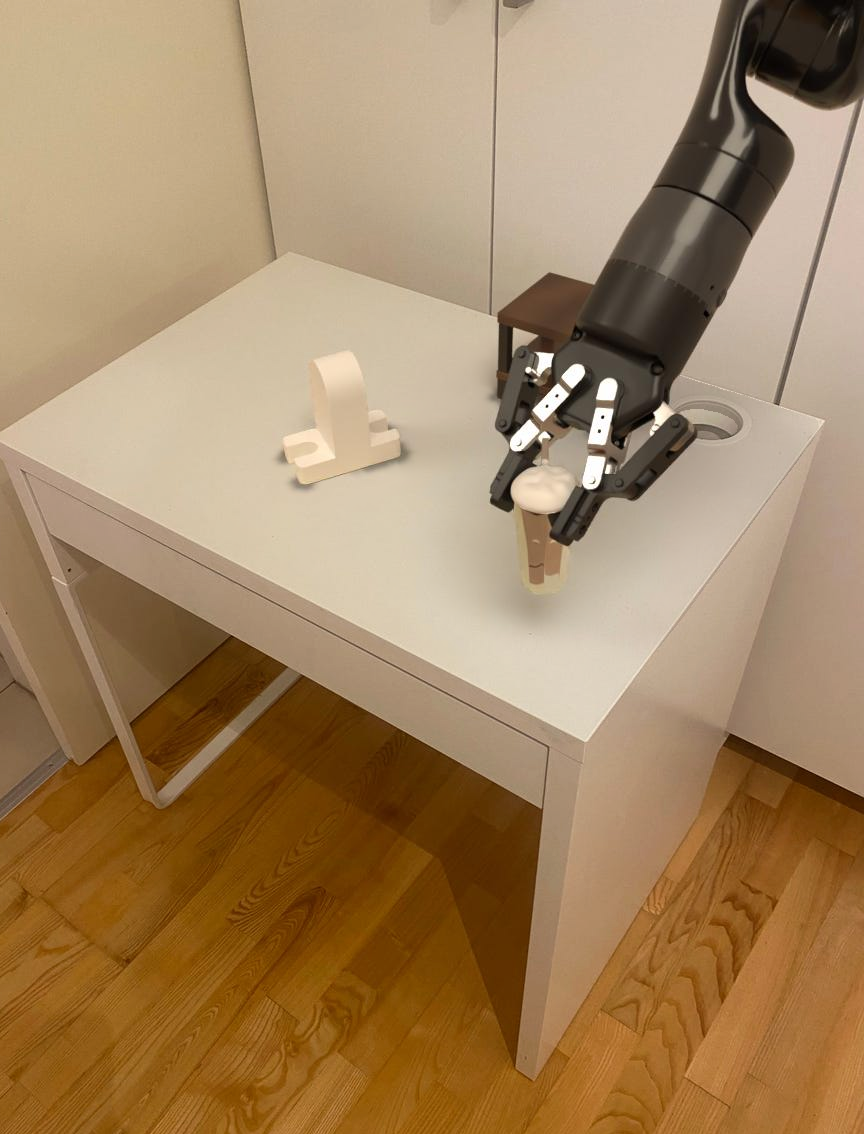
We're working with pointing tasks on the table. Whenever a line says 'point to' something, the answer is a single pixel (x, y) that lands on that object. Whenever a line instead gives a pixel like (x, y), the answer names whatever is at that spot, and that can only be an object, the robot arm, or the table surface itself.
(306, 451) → the cream mounting bracket
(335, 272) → the table surface
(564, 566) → the milkshake
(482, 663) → the table surface
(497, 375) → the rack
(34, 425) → the table surface
